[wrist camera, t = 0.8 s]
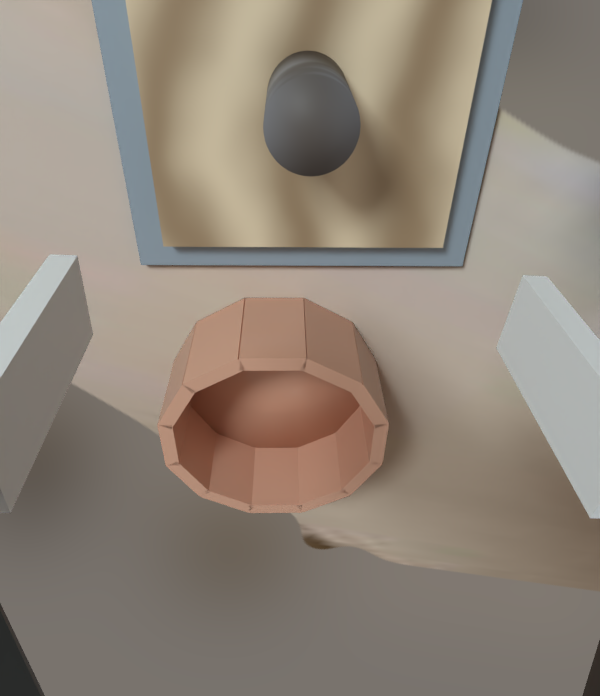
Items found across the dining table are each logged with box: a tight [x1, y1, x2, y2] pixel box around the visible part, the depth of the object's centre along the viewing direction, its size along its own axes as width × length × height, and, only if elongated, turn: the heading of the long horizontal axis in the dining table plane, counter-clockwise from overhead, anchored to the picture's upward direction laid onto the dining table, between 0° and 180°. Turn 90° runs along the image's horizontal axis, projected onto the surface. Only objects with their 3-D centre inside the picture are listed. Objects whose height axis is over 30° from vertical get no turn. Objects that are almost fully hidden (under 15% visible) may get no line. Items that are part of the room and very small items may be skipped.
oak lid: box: [125, 0, 492, 248], centre depth 27 cm, size 18×18×7 cm
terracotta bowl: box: [157, 298, 389, 513], centre depth 41 cm, size 16×16×7 cm
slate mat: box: [92, 0, 523, 266], centre depth 30 cm, size 22×22×1 cm
